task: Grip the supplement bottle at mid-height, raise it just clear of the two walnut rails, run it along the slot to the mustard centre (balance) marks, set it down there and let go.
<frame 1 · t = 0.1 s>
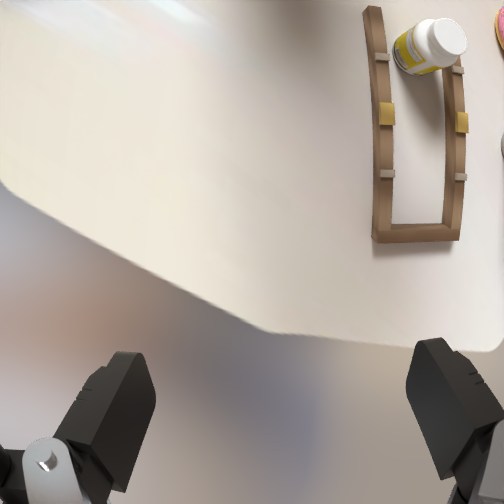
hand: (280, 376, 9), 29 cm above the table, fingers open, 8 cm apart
slotted beam: (416, 118, 32), on the table
supplement bottle: (410, 55, 29), on the table
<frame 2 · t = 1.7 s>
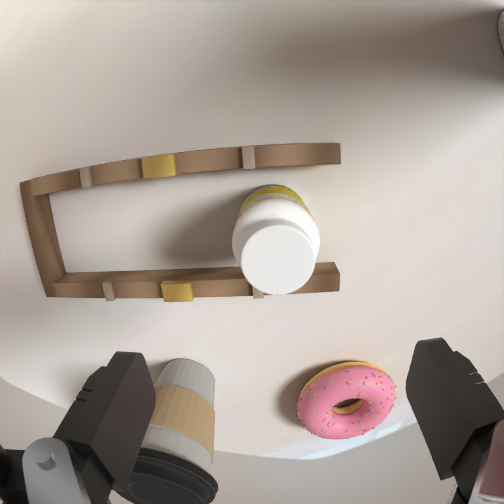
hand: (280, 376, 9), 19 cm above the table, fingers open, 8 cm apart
coffee cup: (189, 378, 33), on the table
doughnut: (343, 389, 33), on the table
slotted beam: (177, 222, 27), on the table
supplement bottle: (273, 215, 26), on the table
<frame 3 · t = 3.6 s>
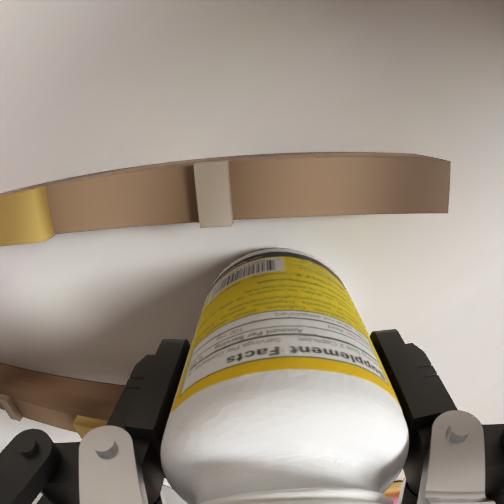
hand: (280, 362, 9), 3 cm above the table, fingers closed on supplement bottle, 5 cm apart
coffee cup: (154, 493, 19), on the table
doughnut: (368, 502, 19), on the table
slotted beam: (90, 312, 13), on the table
supplement bottle: (278, 308, 12), on the table, touching gripper
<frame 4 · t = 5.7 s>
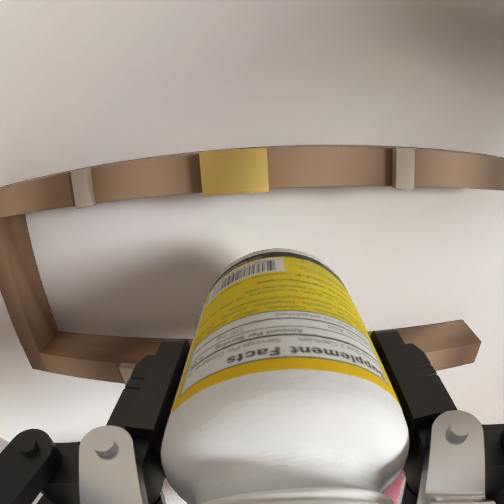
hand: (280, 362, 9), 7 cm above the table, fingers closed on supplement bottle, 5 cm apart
doughnut: (427, 453, 22), on the table
slotted beam: (248, 267, 16), on the table
supplement bottle: (278, 308, 12), point 4 cm above the table, touching gripper
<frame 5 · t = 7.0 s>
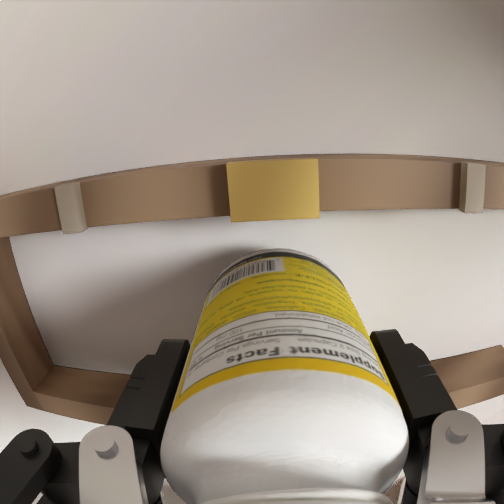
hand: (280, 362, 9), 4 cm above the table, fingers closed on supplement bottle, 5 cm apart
slotted beam: (278, 301, 13), on the table
supplement bottle: (278, 309, 12), point 1 cm above the table, touching gripper
when the fingers open (4 cm above the table, at t = 7.9 s): supplement bottle stays where it is, on the table.
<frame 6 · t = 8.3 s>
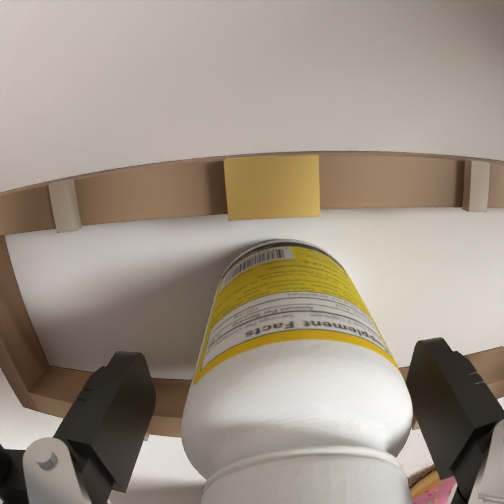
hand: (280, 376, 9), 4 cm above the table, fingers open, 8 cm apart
doughnut: (449, 475, 19), on the table
slotted beam: (276, 301, 13), on the table
supplement bottle: (284, 297, 13), on the table
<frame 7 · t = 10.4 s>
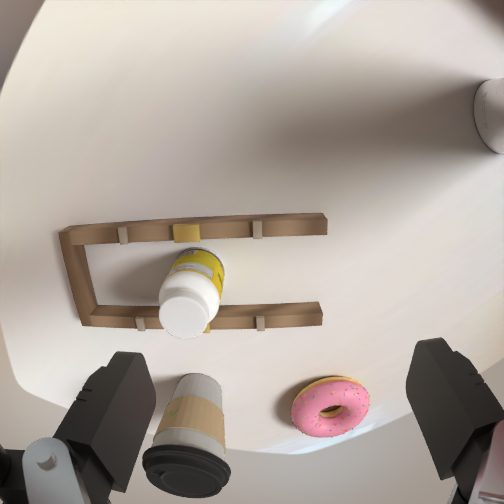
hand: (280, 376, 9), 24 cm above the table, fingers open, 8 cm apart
coffee cup: (200, 388, 40), on the table
doughnut: (327, 398, 41), on the table
slotted beam: (196, 270, 34), on the table
supplement bottle: (200, 269, 34), on the table
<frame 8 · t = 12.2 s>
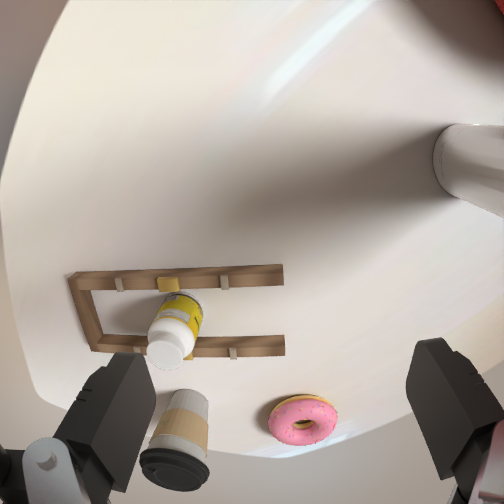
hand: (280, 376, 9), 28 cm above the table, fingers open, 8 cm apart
coffee cup: (191, 401, 47), on the table
doughnut: (301, 412, 47), on the table
slotted beam: (181, 309, 41), on the table
supplement bottle: (183, 308, 41), on the table
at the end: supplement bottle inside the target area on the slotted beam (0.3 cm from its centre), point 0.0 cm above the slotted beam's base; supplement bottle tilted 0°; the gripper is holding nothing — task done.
